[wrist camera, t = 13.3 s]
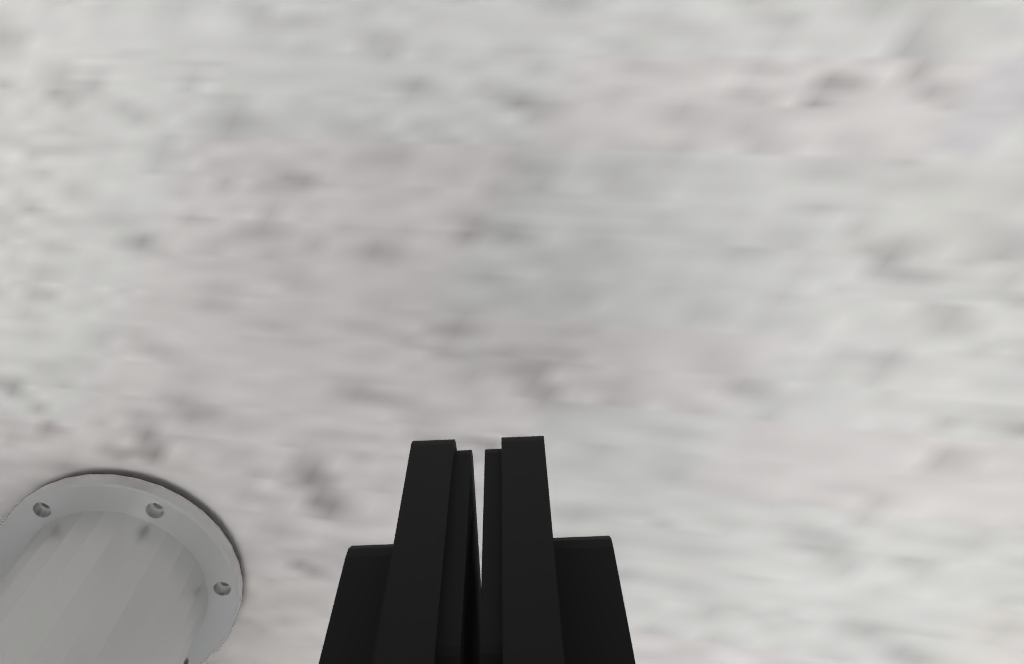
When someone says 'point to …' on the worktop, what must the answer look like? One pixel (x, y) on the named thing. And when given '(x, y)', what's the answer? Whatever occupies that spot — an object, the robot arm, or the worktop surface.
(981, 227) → the worktop surface
